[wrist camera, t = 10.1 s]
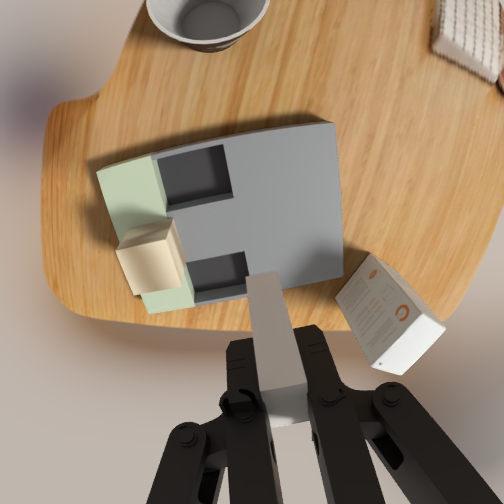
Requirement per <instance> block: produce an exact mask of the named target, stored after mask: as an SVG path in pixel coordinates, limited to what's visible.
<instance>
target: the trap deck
mask: <svg viewBox="0 0 504 504" xmlns="http://www.w3.org/2000/svg"><path fill="white" fill-rule="evenodd" d="M96 173H97V176H98V180H99V183H100V186H101V190H102V193H103V196H104V199H105V202H106V205H107V208H108V211H109V214H110V217H111V220H112V223H113V226H114V229H115V232H116V234H117V237H118V240H119V243H120V242H121V241H122V239H123V237H124V236H125V234H126V233H127V231H128V229H130V228H134V227H138V226H142V225H146V224H150V223H154V222H159V221H163V220H167V219H171V218H174V222H175V225H176V229H177V232H178V235H179V239H180V242H181V245H182V249H183V252H184V255H185V258H186V264H185V270H184V276H183V282H182V287H177V288H172V289H166V290H161V291H155V292H150V293H144V294H140V295H141V297H142V299H143V302H144V304H145V306H146V308H147V311H148V313H149V314H153V313H159V312H165V311H171V310H177V309H183V308H189V307H195V306H201V305H206V304H212V303H218V302H223V301H229V300H234V299H239V298H244V297H248V294H247V286H246V277H247V276H252V275H257V274H262V273H267V272H272V271H277V275H278V278H279V282H280V285H281V289H282V290H285V289H290V288H294V287H299V286H304V285H308V284H313V283H318V282H322V281H327V280H331V279H336V278H340V277H343V226H342V204H341V187H340V172H339V160H338V149H337V138H336V129H335V123H334V122H330V121H320V122H310V123H302V124H294V125H286V126H279V127H272V128H265V129H259V130H253V131H247V132H242V133H236V134H231V135H225V136H220V137H215V138H211V139H206V140H201V141H197V142H192V143H188V144H184V145H179V146H175V147H171V148H167V149H163V150H160V151H156V152H152V153H148V154H145V155H141V156H138V157H134V158H131V159H127V160H124V161H121V162H117V163H114V164H111V165H108V166H105V167H103V168H101V169H100V170H98V171H97V172H96Z"/></svg>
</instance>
